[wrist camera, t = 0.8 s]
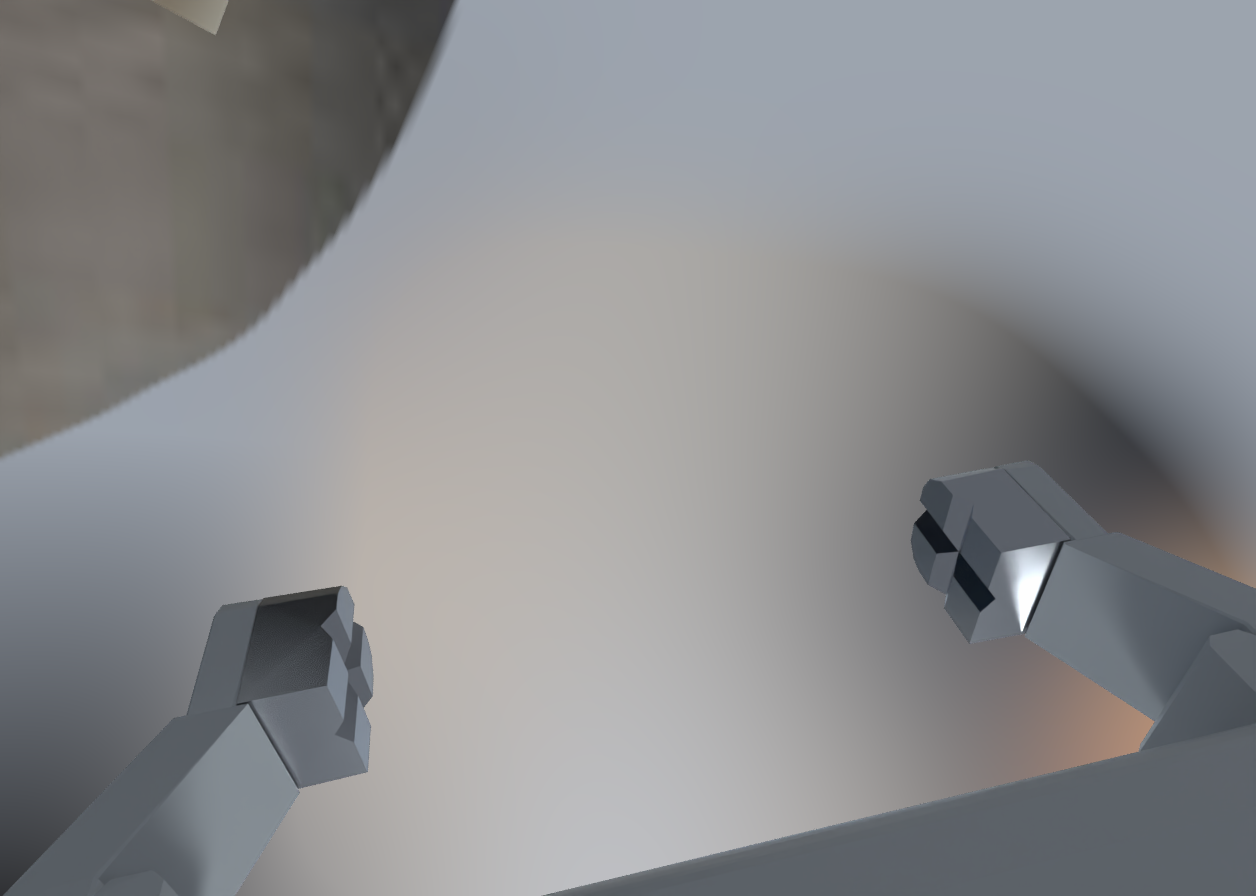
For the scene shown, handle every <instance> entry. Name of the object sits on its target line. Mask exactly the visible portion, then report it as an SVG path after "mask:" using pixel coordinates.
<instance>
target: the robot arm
mask: <svg viewBox="0 0 1256 896" xmlns="http://www.w3.org/2000/svg"><path fill="white" fill-rule="evenodd" d="M920 501H921V503H922V504H923V505H924V506H925V508H926V509H927V510H926V511H925V512H924V513H923V514H922V516H921V517H920V518H919V519H918V520H917V521H916V522H915V523H914V527H913V532H912V538H911V544H912V550H913V557H914V560H915V563H916V565H917V568H918V570H919V572H920V573H921V575H922V576H923V578H924V579H925V581H926V582H927V584H928V585H929V586H931V587H933V588H935V589H937V590H939V591H941V592H942V593H944V594H946V599H945V607H944V609H945V610H946V611H947V613H948V614H949V616H950V617H951V618H952V620H953V621H954V623H955V624H956V626H957V627H958V628H959V630H960V631H961V633H962V634H963V636H964V637H965V638H966V640H967V641H968V643H969V644H971V643H976V642H982V641H988V640H993V639H998V638H1004V637H1009V636H1015V635H1020V634H1025V633H1026V635H1025V637H1026V638H1028V639H1029V640H1031V641H1033V642H1034V643H1035V644H1037V645H1038V646H1040V647H1042V648H1043V649H1045V650H1046V651H1048V652H1049V653H1051V654H1052V655H1054V656H1056V657H1057V658H1058V659H1060V660H1062V661H1063V662H1065V663H1066V664H1068V665H1069V666H1071V667H1072V668H1074V669H1075V670H1077V671H1078V672H1080V673H1082V674H1083V675H1085V676H1086V677H1088V678H1089V679H1091V680H1092V681H1094V682H1095V683H1097V684H1098V685H1100V686H1101V687H1103V688H1104V689H1106V690H1108V691H1109V692H1111V693H1112V694H1114V695H1115V696H1117V697H1118V698H1120V699H1122V700H1123V701H1125V702H1126V703H1127V704H1129V705H1131V706H1132V707H1134V708H1135V709H1137V710H1138V711H1140V712H1141V713H1143V714H1144V715H1146V716H1147V717H1149V718H1150V719H1152V720H1154V721H1155V722H1154V724H1153V726H1152V727H1151V729H1150V730H1149V732H1148V733H1147V735H1146V737H1145V738H1144V740H1143V741H1142V743H1141V744H1140V748H1139V752H1136V753H1131V754H1127V755H1123V756H1119V757H1115V758H1111V759H1107V760H1102V761H1098V762H1094V763H1090V764H1086V765H1082V766H1077V767H1073V768H1069V769H1065V770H1061V771H1057V772H1053V773H1048V774H1044V775H1040V776H1037V777H1032V778H1028V779H1024V780H1020V781H1015V782H1011V783H1007V784H1003V785H999V786H994V787H990V788H986V789H982V790H978V791H974V792H970V793H965V794H961V795H957V796H953V797H949V798H945V799H941V800H937V801H932V802H928V803H924V804H920V805H916V806H912V807H907V808H903V809H899V810H895V811H891V812H887V813H882V814H878V815H874V816H870V817H866V818H862V819H858V820H853V821H849V822H845V823H841V824H837V825H833V826H828V827H824V828H820V829H816V830H812V831H808V832H804V833H799V834H795V835H791V836H787V837H783V838H779V839H775V840H771V841H766V842H763V843H758V844H754V845H750V846H746V847H742V848H738V849H733V850H729V851H725V852H721V853H717V854H713V855H709V856H705V857H700V858H697V859H692V860H688V861H684V862H680V863H676V864H672V865H667V866H663V867H659V868H655V869H651V870H647V871H643V872H639V873H635V874H630V875H626V876H622V877H618V878H614V879H609V880H605V881H601V882H597V883H593V884H589V885H585V886H580V887H576V888H572V889H568V890H564V891H560V892H556V893H552V894H547V895H543V896H1256V589H1255V588H1253V587H1250V586H1248V585H1245V584H1243V583H1241V582H1238V581H1236V580H1233V579H1231V578H1229V577H1226V576H1224V575H1221V574H1219V573H1216V572H1214V571H1211V570H1209V569H1207V568H1204V567H1202V566H1199V565H1197V564H1195V563H1192V562H1190V561H1187V560H1185V559H1182V558H1180V557H1178V556H1175V555H1173V554H1170V553H1168V552H1166V551H1163V550H1161V549H1158V548H1156V547H1153V546H1151V545H1148V544H1146V543H1144V542H1141V541H1139V540H1137V539H1134V538H1131V537H1129V536H1127V535H1124V534H1122V533H1120V532H1115V533H1109V534H1108V533H1107V532H1106V531H1105V530H1104V529H1103V528H1102V527H1101V526H1100V525H1099V524H1098V523H1097V522H1096V521H1095V520H1094V519H1093V518H1091V517H1090V515H1089V514H1087V512H1085V511H1084V510H1083V509H1082V508H1081V507H1080V506H1079V505H1078V504H1077V503H1076V502H1075V501H1074V500H1073V499H1072V498H1071V497H1070V496H1069V495H1068V494H1067V493H1066V492H1065V491H1064V490H1063V489H1062V488H1061V487H1060V486H1059V485H1058V484H1057V483H1056V482H1055V481H1054V480H1053V479H1052V478H1051V477H1050V476H1048V474H1047V473H1046V472H1045V471H1044V470H1043V469H1041V467H1040V466H1038V465H1037V464H1035V463H1033V462H1030V461H1028V460H1027V461H1023V462H1017V463H1012V464H1006V465H1001V466H996V467H994V468H986V469H981V470H975V471H970V472H965V473H960V474H955V475H949V476H944V477H939V478H933V479H930V480H929V481H928V482H927V483H926V484H925V486H924V487H923V490H922V495H921V498H920ZM353 614H354V603H353V600H352V598H351V596H350V594H349V591H348V589H347V587H344V586H338V587H331V588H326V589H319V590H313V591H306V592H300V593H293V594H287V595H280V596H274V597H268V598H263V599H261V600H254V601H248V602H241V603H235V604H228V605H223V606H222V607H221V608H220V609H219V610H218V612H217V613H216V614H215V616H214V619H213V622H212V626H211V629H210V633H209V636H208V641H207V644H206V647H205V651H204V654H203V658H202V662H201V665H200V669H199V672H198V676H197V679H196V683H195V686H194V690H193V694H192V697H191V701H190V705H189V708H188V712H187V715H186V716H182V717H177V718H174V719H173V720H171V722H170V723H169V724H168V725H167V726H166V727H165V728H164V729H163V730H162V731H161V732H160V733H159V734H158V735H157V736H156V737H155V738H154V739H153V740H152V741H151V742H150V743H149V744H148V746H146V748H145V749H144V750H143V751H142V752H141V753H140V754H139V755H138V756H137V757H136V758H135V759H134V760H133V761H132V762H131V763H130V764H129V765H128V766H127V767H126V768H125V770H123V772H121V774H120V775H119V776H118V777H117V778H116V779H115V780H114V781H113V782H112V783H111V784H110V785H109V786H108V787H107V788H106V789H105V790H104V791H103V792H102V793H101V794H100V796H98V797H97V798H96V800H95V801H94V802H93V803H92V804H91V805H90V806H89V807H88V808H87V809H86V810H85V811H84V812H83V813H82V814H81V815H80V816H79V817H78V818H77V819H76V820H75V821H74V822H73V824H71V826H70V827H69V828H68V829H67V830H66V831H65V832H64V833H63V834H62V835H61V836H60V837H59V838H58V839H57V840H56V841H55V842H54V843H53V844H52V845H51V846H50V847H49V849H47V851H46V852H45V853H44V854H43V855H42V856H41V857H40V858H39V859H38V860H37V861H36V862H35V863H34V864H33V865H32V866H31V867H30V868H29V869H28V870H27V871H26V872H25V873H24V874H23V876H21V878H20V879H19V880H18V881H17V882H16V883H15V884H14V885H13V886H12V887H11V888H10V889H9V890H8V891H7V892H6V893H5V894H4V895H3V896H235V895H236V893H237V891H238V890H239V888H240V887H241V885H242V884H243V882H244V880H245V879H246V877H247V876H248V874H249V872H250V871H251V869H252V868H253V866H254V864H255V863H256V861H257V860H258V858H259V857H260V855H261V853H262V851H263V850H264V848H265V847H266V845H267V844H268V842H269V841H270V839H271V837H272V836H273V834H274V833H275V831H276V829H277V828H278V826H279V825H280V823H281V821H282V820H283V818H284V817H285V815H286V814H287V812H288V810H289V809H290V807H291V806H292V804H293V802H294V801H295V799H296V798H297V796H298V795H299V793H300V792H299V790H298V789H299V788H303V787H307V786H311V785H316V784H320V783H324V782H328V781H332V780H337V779H341V778H345V777H349V776H353V775H357V774H361V773H366V772H368V760H369V745H370V730H371V725H370V723H369V720H368V718H367V716H366V713H365V711H364V707H365V705H366V704H367V703H368V701H369V700H370V699H371V697H372V696H373V668H372V655H371V651H370V647H369V642H368V639H367V636H366V633H365V631H364V628H363V627H362V626H360V625H358V624H357V623H355V622H353Z"/></svg>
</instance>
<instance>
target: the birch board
mask: <svg viewBox="0 0 1256 896" xmlns="http://www.w3.org/2000/svg"><path fill="white" fill-rule="evenodd" d="M151 1H153V2H155V3H157V4H159V5H160V6H162V7H164V8H166V9H168V10H170V11H171V12H173V13H175V14H177V15H179V16H181V17H183V18H184V19H186V20H188V21H190V22H192V23H194V24H195V25H197V26H199V27H201V28H203V29H205V30H207V31H208V32H210V33H212V34H214V35H216V33H217V30H218V27H219V25H220V22H221V19H222V17H223V14H224V11H225V9H226V6H227V3H228V1H229V0H151Z"/></svg>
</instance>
